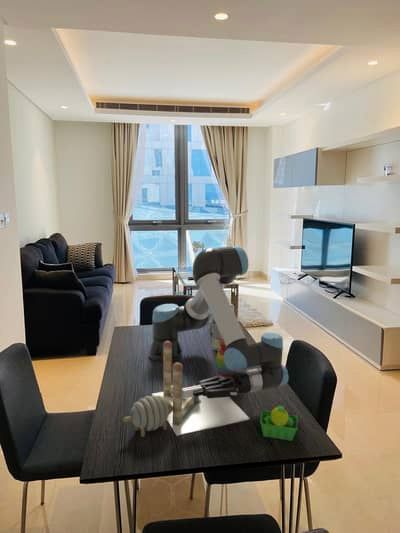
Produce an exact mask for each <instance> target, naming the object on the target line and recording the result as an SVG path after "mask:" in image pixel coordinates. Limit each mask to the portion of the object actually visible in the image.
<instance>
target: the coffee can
mask: <svg viewBox="0 0 400 533" xmlns="http://www.w3.org/2000/svg"><path fill="white" fill-rule="evenodd" d="M212 321H213V330H212V333H211V334H212V339H211V340H212V341H211V342H212V344H211V348H212V350H214V351H217V352H218V351H219V350H220V349H221V347H220V340H221V338H222V337H221V335H220V332H219V330H218V328H217V325H216V323H215V321H214V318H213V319H212Z"/></svg>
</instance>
